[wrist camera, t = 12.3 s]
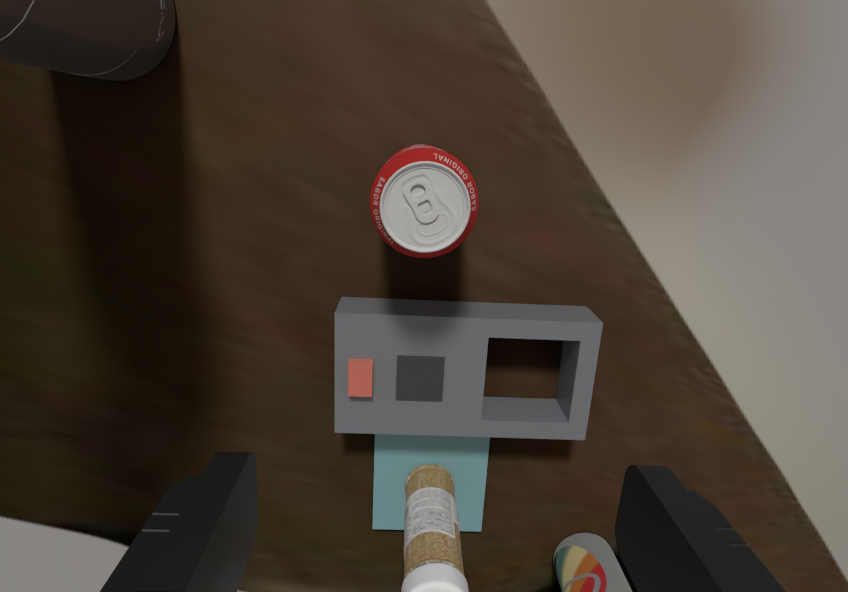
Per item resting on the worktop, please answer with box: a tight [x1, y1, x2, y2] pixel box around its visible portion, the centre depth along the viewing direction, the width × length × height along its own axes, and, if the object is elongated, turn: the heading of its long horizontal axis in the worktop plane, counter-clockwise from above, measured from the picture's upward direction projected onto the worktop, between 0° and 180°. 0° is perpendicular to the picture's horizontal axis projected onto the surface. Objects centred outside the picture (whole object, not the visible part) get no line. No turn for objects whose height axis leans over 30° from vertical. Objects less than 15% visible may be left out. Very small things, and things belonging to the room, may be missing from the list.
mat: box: [373, 434, 490, 532], centre depth 48 cm, size 10×10×1 cm
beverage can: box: [370, 144, 479, 258], centre depth 35 cm, size 6×6×12 cm
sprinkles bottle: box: [402, 464, 469, 592], centre depth 41 cm, size 5×4×13 cm
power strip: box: [335, 297, 603, 440], centre depth 43 cm, size 20×10×5 cm, turn 87°
